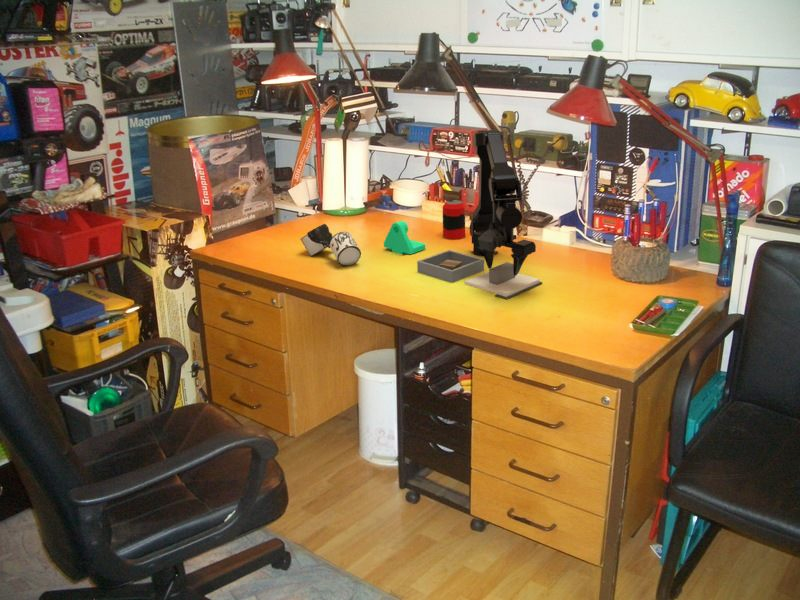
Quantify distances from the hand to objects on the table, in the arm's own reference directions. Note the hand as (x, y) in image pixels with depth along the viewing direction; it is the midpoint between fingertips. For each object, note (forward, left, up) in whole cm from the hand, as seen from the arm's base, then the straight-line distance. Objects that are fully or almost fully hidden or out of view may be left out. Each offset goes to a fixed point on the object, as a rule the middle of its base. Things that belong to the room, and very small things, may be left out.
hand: (502, 271), depth 223 cm
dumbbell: (+17, -55, -4) cm, 58 cm away
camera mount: (-4, -44, -4) cm, 44 cm away
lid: (0, 0, -4) cm, 4 cm away
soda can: (-26, -42, -4) cm, 49 cm away
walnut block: (+2, -18, -3) cm, 18 cm away
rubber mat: (0, 0, -4) cm, 4 cm away
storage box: (+2, -18, -4) cm, 19 cm away
